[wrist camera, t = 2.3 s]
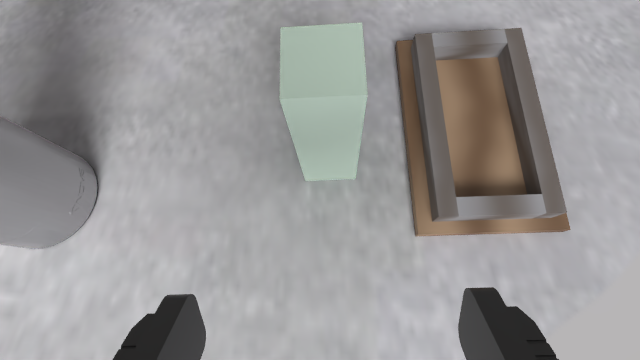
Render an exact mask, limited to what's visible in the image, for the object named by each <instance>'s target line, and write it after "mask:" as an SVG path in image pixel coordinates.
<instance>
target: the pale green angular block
mask: <svg viewBox="0 0 640 360" xmlns="http://www.w3.org/2000/svg"><path fill="white" fill-rule="evenodd" d="M279 99H280V102H281V106H282V109H283V112H284V115H285V118H286V121H287V124H288V128H289V131H290V134H291V137H292V140H293V143H294V146H295V150H296V153H297V156H298V159H299V162H300V165H301V169H302V172H303V175H304V178H305V181H321V180H347V179H356V173H357V166H358V159H359V151H360V144H361V137H362V130H363V123H364V116H365V109H366V102H367V81H366V68H365V54H364V41H363V28H362V23H347V24H330V25H313V26H296V27H280V93H279Z"/></svg>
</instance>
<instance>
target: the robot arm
mask: <svg viewBox="0 0 640 360" xmlns="http://www.w3.org/2000/svg"><path fill="white" fill-rule="evenodd" d="M96 197H97V180H96V176H95V173H94V171H93V169H92V167H91V166H90V165H89V163H88V162H87V161H85V160H84V159H83V158H81V157H80V156H78V155H76V154H74V153H72V152H70V151H68V150H66V149H64V148H62V147H60V146H58V145H57V144H55V143H53V142H51V141H49V140H47V139H45V138H43V137H41V136H39V135H37V134H35V133H33V132H32V131H30V130H28V129H26V128H24V127H22V126H20V125H18V124H16V123H14V122H12V121H10V120H8V119H6V118H4V117H2V116H0V245H7V246H15V247H22V248H30V249H40V248H46V247H50V246H53V245H56V244H58V243H60V242H62V241H64V240H66V239H67V238H69V237H70V236H72V235H73V234H74V233H75V232H76V231H77V230H78V229H79V228H80V227H81V226H82V225H83V224H84V222H85V221H86V220H87V218H88V217H89V215H90V213H91V211H92V209H93V207H94V204H95V200H96ZM458 331H459V338H460V343H461V346H462V349H463V352H464V354H465V357H466V360H559V359H557V358H556V354H555V353H554V352H553V350H552V348H551V347H550V345H549V344H548V343H546V339H545V337H544V336H543V334H542V333H541V331H540V330H539V328H538V326H537V325H536V323H535V322H534V321H533V320H532V319H531V318H530V317H529V316H527V315H526V314H525V313H524V312H523V311H522V310H520V309H519V308H518V307H517V306H515V307H507V306H506V305H505V303H504V301H503V300H502V298H501V296H500V294H499V293H498V291H497V290H496V289H495V288H466V289H465V291H464V295H463V301H462V307H461V313H460V319H459V325H458ZM205 341H206V330H205V326H204V323H203V319H202V316H201V313H200V310H199V306H198V303H197V300H196V297H195V296H194V295H193V294H183V295H167V296H165V297H164V299H163V300H162V302H161V304H160V305H159V307H158V309H157V311H156V313H155V314H147V315H146V316H145V317H144V318H143V319H141V320H140V321H139V322H138V323H137V324H136V325H135V326H134V327H133V328H132V329H131V331H130V332H129V334H128V336H127V337H126V339H125V340H124V342H123V344H122V345H121V349H119V350H118V352H117V353H116V355H115V357H114V358H113V360H200V359H201V356H202V353H203V350H204V347H205Z"/></svg>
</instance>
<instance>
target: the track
mask: <svg viewBox="0 0 640 360" xmlns="http://www.w3.org/2000/svg"><path fill="white" fill-rule="evenodd" d="M395 49H396V59H397V68H398V77H399V86H400V96H401V105H402V114H403V124H404V133H405V142H406V151H407V161H408V170H409V179H410V188H411V198H412V207H413V216H414V226H415V235H416V236H440V235H472V234H504V233H536V232H563V231H567V230H570V226H569V222H568V218H567V214H566V213H567V211H566V207H565V202H564V198H563V194H562V190H561V186H560V182H559V178H558V174H557V170H556V166H555V162H554V158H553V154H552V150H551V146H550V142H549V138H548V134H547V130H546V126H545V122H544V118H543V113H542V109H541V105H540V101H539V97H538V93H537V89H536V85H535V81H534V77H533V73H532V69H531V65H530V61H529V57H528V53H527V49H526V45H525V41H524V37H523V33H522V29H521V28H512V29H495V30H478V31H461V32H444V33H426V34H415V36H414V40H405V41H397V43H396V47H395Z"/></svg>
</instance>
